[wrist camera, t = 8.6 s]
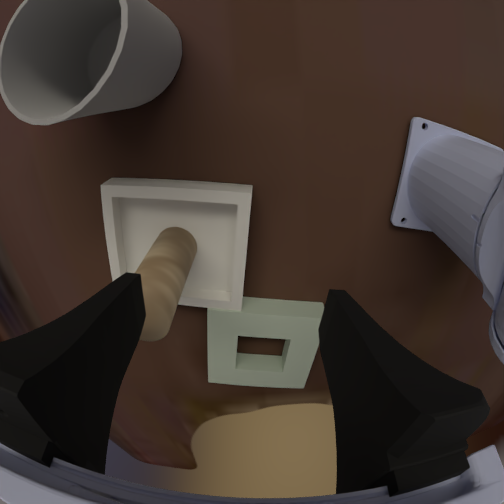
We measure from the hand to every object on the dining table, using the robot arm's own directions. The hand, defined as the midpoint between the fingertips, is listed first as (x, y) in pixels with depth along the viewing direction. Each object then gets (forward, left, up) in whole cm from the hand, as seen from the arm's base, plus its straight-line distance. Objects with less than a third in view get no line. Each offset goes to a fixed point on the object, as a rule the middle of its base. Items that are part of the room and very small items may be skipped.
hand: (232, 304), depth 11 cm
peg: (+5, +3, -10) cm, 11 cm away
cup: (+10, -10, -11) cm, 18 cm away
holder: (-2, +12, -10) cm, 16 cm away
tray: (+5, +3, -10) cm, 12 cm away
